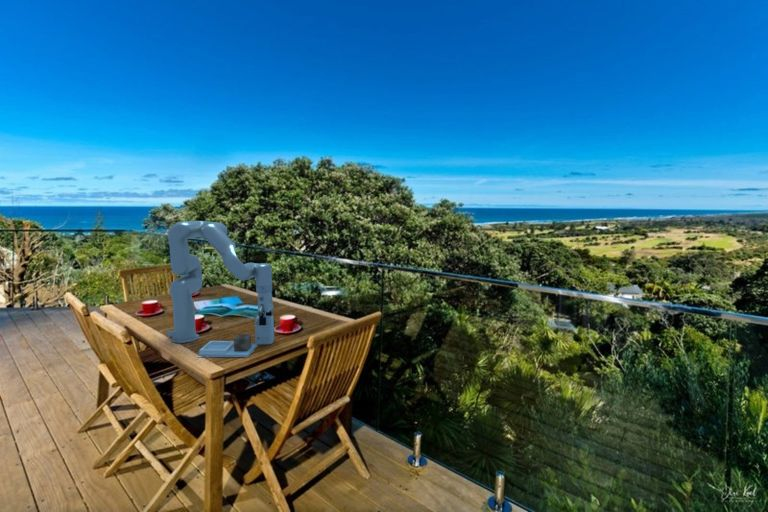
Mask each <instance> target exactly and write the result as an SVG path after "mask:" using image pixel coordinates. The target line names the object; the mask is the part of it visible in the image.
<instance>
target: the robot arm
mask: <svg viewBox="0 0 768 512" xmlns="http://www.w3.org/2000/svg"><path fill="white" fill-rule="evenodd" d="M167 235H168V237H167V239H168V245H169V255H170V256H169V257H170V268H171V271H172V273H173V274H174V275H175V276H182V277H179V278H176V279H175V280H173V281H172V282H171V283H170V286H169V293H170V296H171V301H172V312H173V314H172V315H173V330H167V331H166V335H167V337H168V336H169V337H170V336H171V338H170V340H171V342H172V341H173V342H172V343H174V342H177V343H176V344H187V343H191V342H194V341H197V340H199V339H200V335H199V334H198V333H196V332H197V331H196V314H195V311H196V310H195V303H194V298H193V297H192V295H193V294H194V293H197V292H199V291H200V290H201V289H202V286H203V273H202V263H201V261H200V259H199V257H198V256H197V255H195V254H192V253H190V246H189V243H188V241H187V240H188V239H195V238H204V239H205V240H206V242H208V243H209V245H211V246H212V248H214V250H215V251H216V252H217V253H218V254H219V255H220V256H221V259H222V262H223V264H224V266H225V268H226V269H227V270H228V271H229V273H230V274H231V275H232V276H233V277H235V279H238V280H239V281H247V280H250V279H253V278H255V289H256V290H255V291H256V293H257V313H258V312H259V325H266V317H265V316H272V314H271V312H270V311H271V309H272V308H273V307H274V301H273V293H272V292H273V280H272V279H273V278H272V277H273V276H272V265H271V264H270V263H265V262H263V263H255V262H247V263H243V261H242V260H240V259H239V257H238V256H237V254H236V243H235V242H234V241H233V240H232V239H231V238H230V236H228V228H227V226H226V225H225V224H224V223H221V222H219V221H218V222H217V221H204V220H186V221H179V222H177V223H175V224H174V225H172V227H170V229H169V230H168V234H167ZM263 313H264V314H263ZM186 342H187V343H186Z"/></svg>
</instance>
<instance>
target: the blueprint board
mask: <svg viewBox="0 0 768 512" xmlns="http://www.w3.org/2000/svg"><path fill="white" fill-rule="evenodd" d="M251 346H252V347H251V348H250V349H249V350H248V351H234V340H210V341H208V342H207V343H206V344H205V345H204V346H202V347H201V348H200V349H199V350H198V354H197V355H198V356H210V357H248V356H249V355H250V354H251V353H254V351H255V350H256V349H257V348H256V347H258V344H256V343H251ZM255 348H256V349H255ZM254 349H255V350H254ZM251 355H252V354H251ZM251 355H250V356H251ZM250 356H249V357H250ZM210 357H209V358H210ZM249 357H248V358H249Z"/></svg>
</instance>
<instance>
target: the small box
mask: <svg viewBox="0 0 768 512" xmlns="http://www.w3.org/2000/svg"><path fill="white" fill-rule="evenodd" d="M265 317H266V325H259V316H258V315H257V316H256V317H255V318H254V332H255V333H254V334H255V336H254V338H255V341H254V342H255V344H257V345H272V344H273V343H274V342H275V327H274V326H275V325H274V323H275V321H274V317H275V316H274V315H273V316H265Z"/></svg>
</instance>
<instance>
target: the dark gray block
mask: <svg viewBox="0 0 768 512" xmlns="http://www.w3.org/2000/svg"><path fill="white" fill-rule="evenodd" d="M233 341H234V351H248V350H249V349H250V348H251V347H252V346H251V344H252V334H245V333H244V334H242V333H240V334H237V335H236V336H235V337H233Z"/></svg>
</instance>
